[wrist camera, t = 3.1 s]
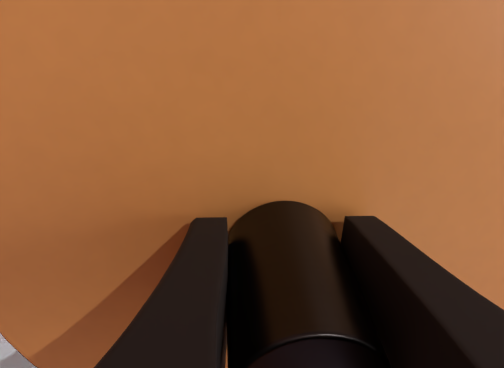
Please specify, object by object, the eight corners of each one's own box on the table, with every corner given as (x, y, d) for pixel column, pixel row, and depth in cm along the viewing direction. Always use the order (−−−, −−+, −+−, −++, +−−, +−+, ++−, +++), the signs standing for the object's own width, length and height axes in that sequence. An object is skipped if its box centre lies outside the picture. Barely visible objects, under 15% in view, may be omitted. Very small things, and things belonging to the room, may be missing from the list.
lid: (470, 392, 14) (572, 572, 10) (37, 411, 13) (-45, 620, 9) (682, -111, 8) (1208, -175, 4) (-147, -155, 7) (-726, -313, 3)
